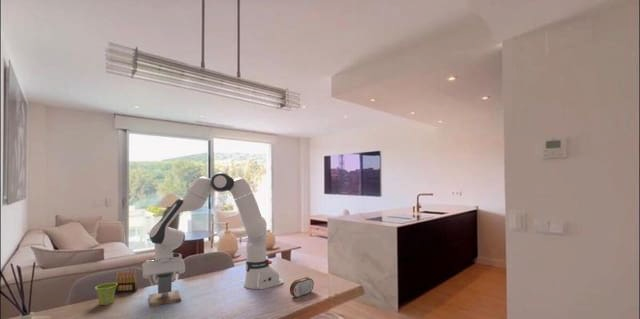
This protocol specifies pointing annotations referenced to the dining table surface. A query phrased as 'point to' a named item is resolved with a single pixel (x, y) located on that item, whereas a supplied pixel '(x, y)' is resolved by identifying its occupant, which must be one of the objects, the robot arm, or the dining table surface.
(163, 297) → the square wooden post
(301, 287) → the tin
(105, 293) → the plant pot
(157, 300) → the base plate
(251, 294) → the dining table surface
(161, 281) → the grey square block
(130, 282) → the brown slatted box
